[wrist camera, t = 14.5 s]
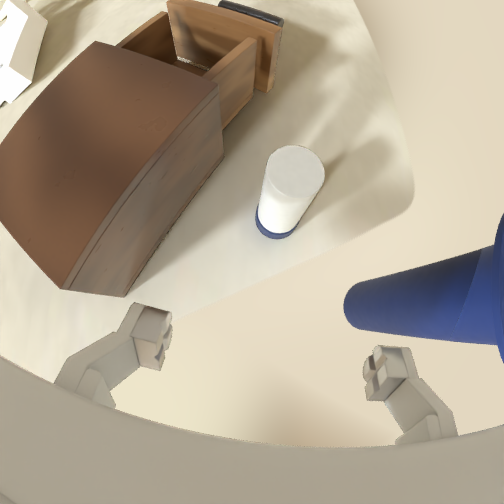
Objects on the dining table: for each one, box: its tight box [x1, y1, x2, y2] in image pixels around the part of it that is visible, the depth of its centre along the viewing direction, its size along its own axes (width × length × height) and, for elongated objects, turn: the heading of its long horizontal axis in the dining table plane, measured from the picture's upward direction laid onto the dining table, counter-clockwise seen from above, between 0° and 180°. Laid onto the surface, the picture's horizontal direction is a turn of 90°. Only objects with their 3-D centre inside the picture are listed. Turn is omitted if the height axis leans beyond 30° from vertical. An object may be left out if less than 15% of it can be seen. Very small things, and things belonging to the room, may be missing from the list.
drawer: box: [116, 0, 284, 130], centre depth 22 cm, size 18×11×8 cm, turn 147°
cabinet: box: [0, 41, 224, 298], centre depth 19 cm, size 15×13×10 cm
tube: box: [255, 145, 325, 239], centre depth 20 cm, size 3×3×9 cm
